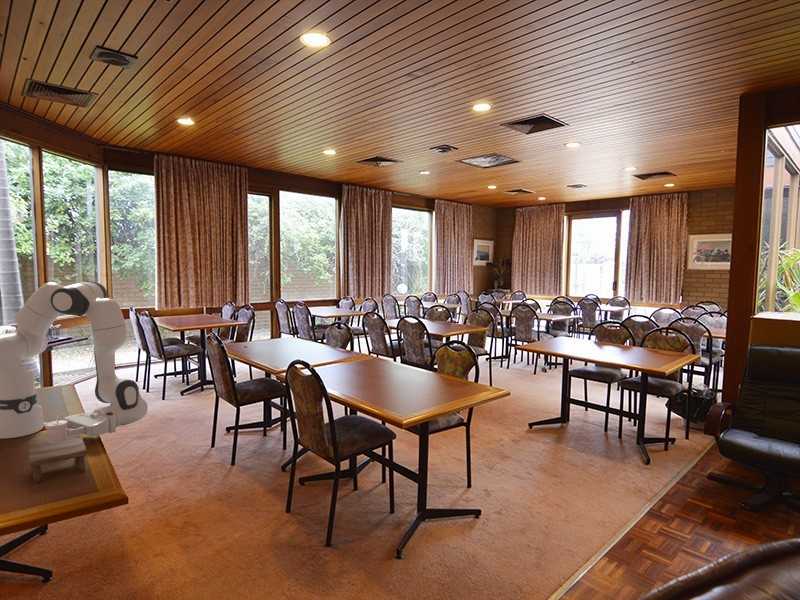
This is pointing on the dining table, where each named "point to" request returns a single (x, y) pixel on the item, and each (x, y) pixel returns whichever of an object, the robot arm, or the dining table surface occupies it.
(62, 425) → the smoothie
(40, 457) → the stool
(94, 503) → the dining table surface
